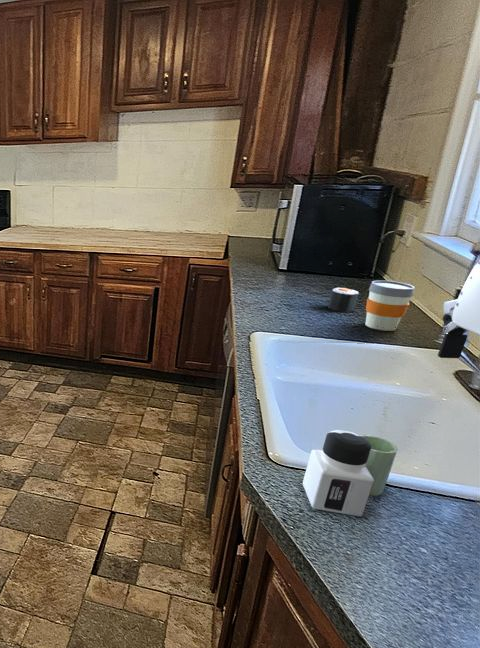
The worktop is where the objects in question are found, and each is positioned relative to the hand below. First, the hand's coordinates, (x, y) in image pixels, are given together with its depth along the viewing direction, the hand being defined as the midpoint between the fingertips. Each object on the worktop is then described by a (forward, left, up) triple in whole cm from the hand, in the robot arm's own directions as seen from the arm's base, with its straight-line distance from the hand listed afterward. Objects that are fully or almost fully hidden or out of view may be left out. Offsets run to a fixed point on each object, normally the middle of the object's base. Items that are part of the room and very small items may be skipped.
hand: (471, 369), depth 82 cm
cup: (+6, -6, -26) cm, 28 cm away
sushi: (-55, -123, -26) cm, 137 cm away
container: (+15, -1, -26) cm, 30 cm away
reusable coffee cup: (-57, -102, -26) cm, 120 cm away
